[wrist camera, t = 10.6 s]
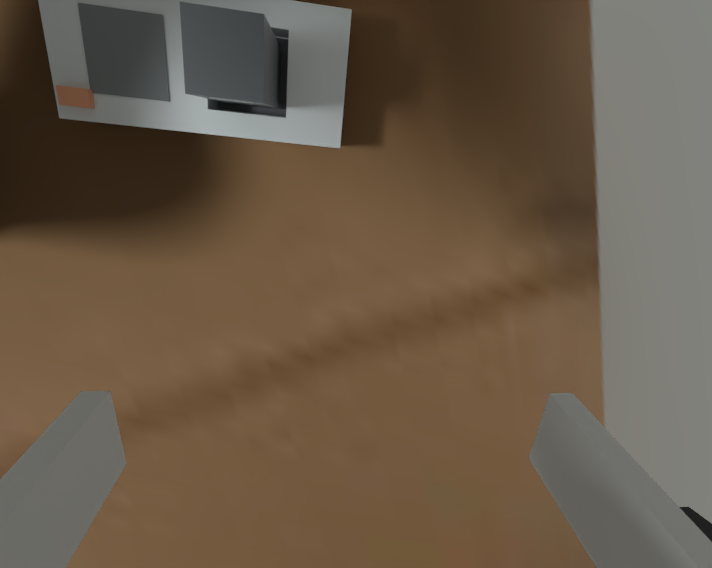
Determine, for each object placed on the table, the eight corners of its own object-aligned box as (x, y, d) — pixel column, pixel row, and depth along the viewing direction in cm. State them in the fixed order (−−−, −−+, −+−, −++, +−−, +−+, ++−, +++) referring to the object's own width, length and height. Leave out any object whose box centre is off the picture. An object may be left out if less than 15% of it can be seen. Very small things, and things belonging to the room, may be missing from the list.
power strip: (87, 118, 30) (53, 118, 26) (65, -21, 26) (23, -45, 23) (337, 145, 32) (340, 148, 29) (348, 22, 29) (352, 6, 25)
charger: (226, 103, 30) (185, 94, 21) (224, 41, 28) (179, 1, 19) (279, 109, 30) (263, 103, 21) (281, 48, 29) (264, 13, 20)
